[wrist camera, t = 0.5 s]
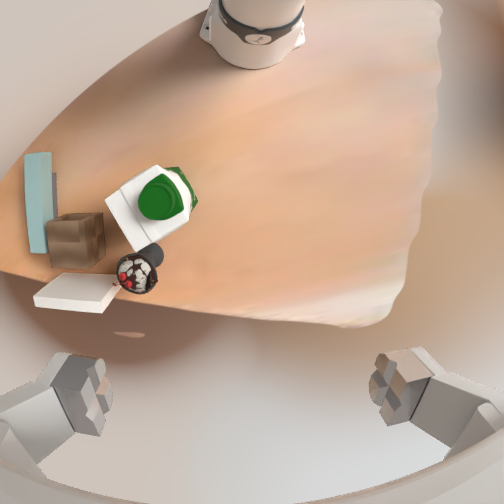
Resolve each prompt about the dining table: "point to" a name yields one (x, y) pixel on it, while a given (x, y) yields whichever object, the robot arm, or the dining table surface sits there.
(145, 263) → the sundae
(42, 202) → the peg
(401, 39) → the dining table surface
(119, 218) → the milk carton
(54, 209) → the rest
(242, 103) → the dining table surface
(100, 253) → the block
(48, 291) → the wall
